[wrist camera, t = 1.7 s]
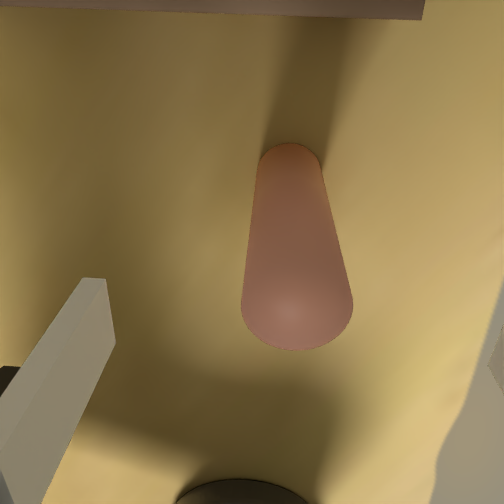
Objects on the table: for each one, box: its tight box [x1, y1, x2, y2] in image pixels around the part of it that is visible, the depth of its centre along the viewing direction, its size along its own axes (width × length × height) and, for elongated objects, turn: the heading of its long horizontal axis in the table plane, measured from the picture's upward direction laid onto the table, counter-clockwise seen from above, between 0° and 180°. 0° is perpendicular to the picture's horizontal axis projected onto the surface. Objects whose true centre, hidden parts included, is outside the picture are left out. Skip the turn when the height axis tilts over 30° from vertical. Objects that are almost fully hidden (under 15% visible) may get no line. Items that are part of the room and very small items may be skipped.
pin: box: [241, 143, 353, 350], centre depth 22 cm, size 4×4×14 cm
